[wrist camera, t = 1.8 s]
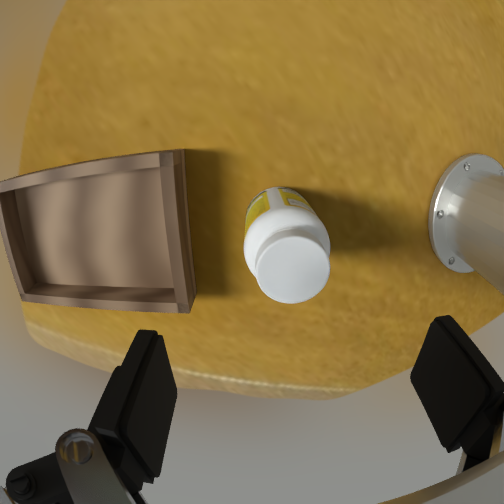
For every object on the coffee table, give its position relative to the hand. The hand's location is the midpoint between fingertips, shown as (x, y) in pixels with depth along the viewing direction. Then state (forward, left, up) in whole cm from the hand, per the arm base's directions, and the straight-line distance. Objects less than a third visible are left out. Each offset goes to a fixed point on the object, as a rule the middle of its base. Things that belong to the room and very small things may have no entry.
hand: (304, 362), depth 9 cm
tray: (+17, 0, -16) cm, 24 cm away
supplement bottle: (0, 0, -17) cm, 17 cm away
